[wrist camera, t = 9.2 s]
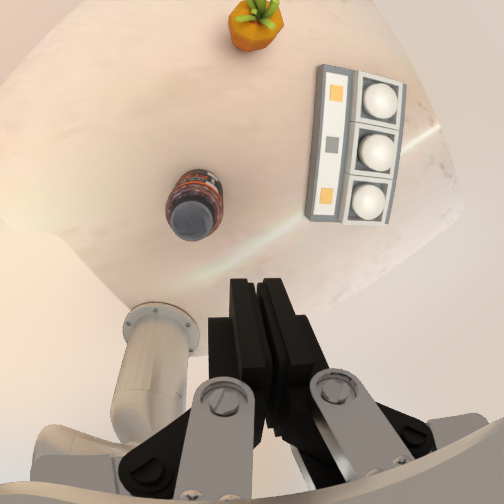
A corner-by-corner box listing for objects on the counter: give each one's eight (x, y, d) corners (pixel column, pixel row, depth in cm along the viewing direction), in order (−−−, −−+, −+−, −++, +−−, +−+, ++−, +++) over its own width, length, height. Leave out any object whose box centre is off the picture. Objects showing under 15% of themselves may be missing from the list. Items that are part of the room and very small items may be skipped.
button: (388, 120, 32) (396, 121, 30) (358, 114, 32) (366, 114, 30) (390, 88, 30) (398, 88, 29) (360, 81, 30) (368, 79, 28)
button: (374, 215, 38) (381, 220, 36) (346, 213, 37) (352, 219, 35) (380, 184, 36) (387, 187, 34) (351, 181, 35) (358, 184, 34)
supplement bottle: (209, 159, 35) (206, 178, 25) (230, 201, 38) (236, 234, 28) (167, 181, 36) (148, 208, 26) (189, 221, 38) (180, 261, 28)
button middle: (385, 170, 34) (393, 173, 32) (356, 166, 34) (363, 169, 32) (389, 136, 32) (398, 138, 31) (360, 131, 32) (367, 132, 30)
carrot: (262, 65, 31) (293, 35, 17) (221, 59, 30) (225, 23, 16) (269, 31, 29) (302, -15, 15) (228, 24, 28) (237, -28, 14)
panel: (380, 218, 41) (394, 228, 38) (304, 214, 40) (313, 226, 36) (396, 85, 33) (413, 84, 29) (317, 67, 31) (328, 62, 27)
